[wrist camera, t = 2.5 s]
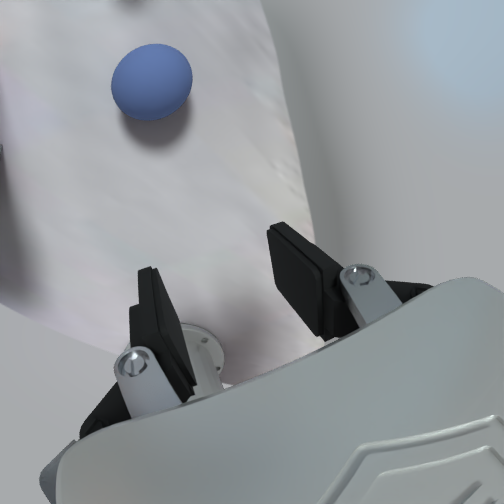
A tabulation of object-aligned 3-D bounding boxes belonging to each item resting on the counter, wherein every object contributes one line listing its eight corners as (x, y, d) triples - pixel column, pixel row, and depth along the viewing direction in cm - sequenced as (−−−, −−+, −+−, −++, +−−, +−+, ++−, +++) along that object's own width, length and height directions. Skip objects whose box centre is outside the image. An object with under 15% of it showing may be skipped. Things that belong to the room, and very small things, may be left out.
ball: (192, 109, 22) (207, 106, 17) (124, 130, 21) (117, 132, 16) (179, 46, 19) (190, 26, 14) (109, 66, 18) (99, 49, 13)
